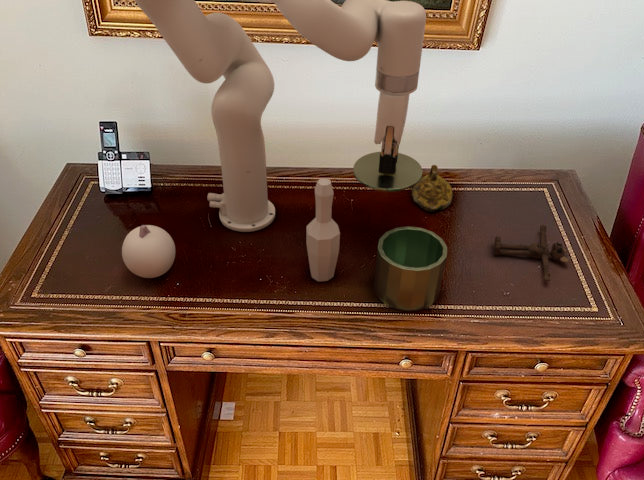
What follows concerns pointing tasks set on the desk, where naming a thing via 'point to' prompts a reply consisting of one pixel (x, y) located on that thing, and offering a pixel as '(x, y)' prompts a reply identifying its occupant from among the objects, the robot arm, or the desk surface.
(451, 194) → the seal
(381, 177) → the lid
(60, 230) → the desk surface
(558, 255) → the brown thin branching figure
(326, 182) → the low poly bottle
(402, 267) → the tin
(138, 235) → the ornament
